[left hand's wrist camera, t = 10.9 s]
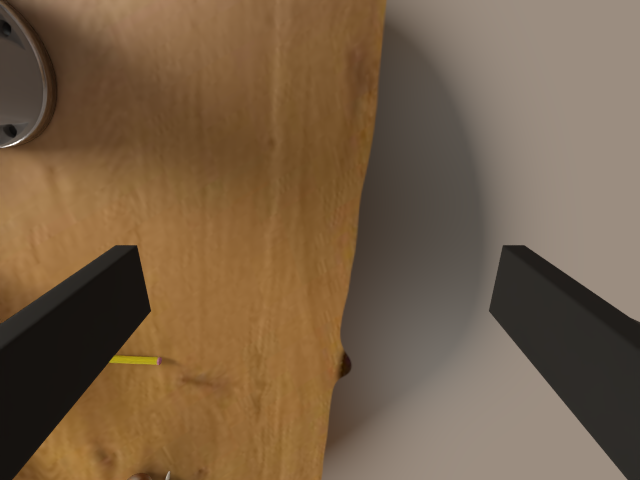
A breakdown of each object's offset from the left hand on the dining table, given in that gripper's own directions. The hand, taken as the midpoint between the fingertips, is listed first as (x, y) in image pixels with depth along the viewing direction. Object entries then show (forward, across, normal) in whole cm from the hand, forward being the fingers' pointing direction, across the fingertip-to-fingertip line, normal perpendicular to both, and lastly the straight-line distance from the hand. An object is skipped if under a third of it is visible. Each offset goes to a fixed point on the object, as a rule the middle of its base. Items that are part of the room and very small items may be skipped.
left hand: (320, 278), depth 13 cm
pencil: (+28, +31, +27) cm, 50 cm away
